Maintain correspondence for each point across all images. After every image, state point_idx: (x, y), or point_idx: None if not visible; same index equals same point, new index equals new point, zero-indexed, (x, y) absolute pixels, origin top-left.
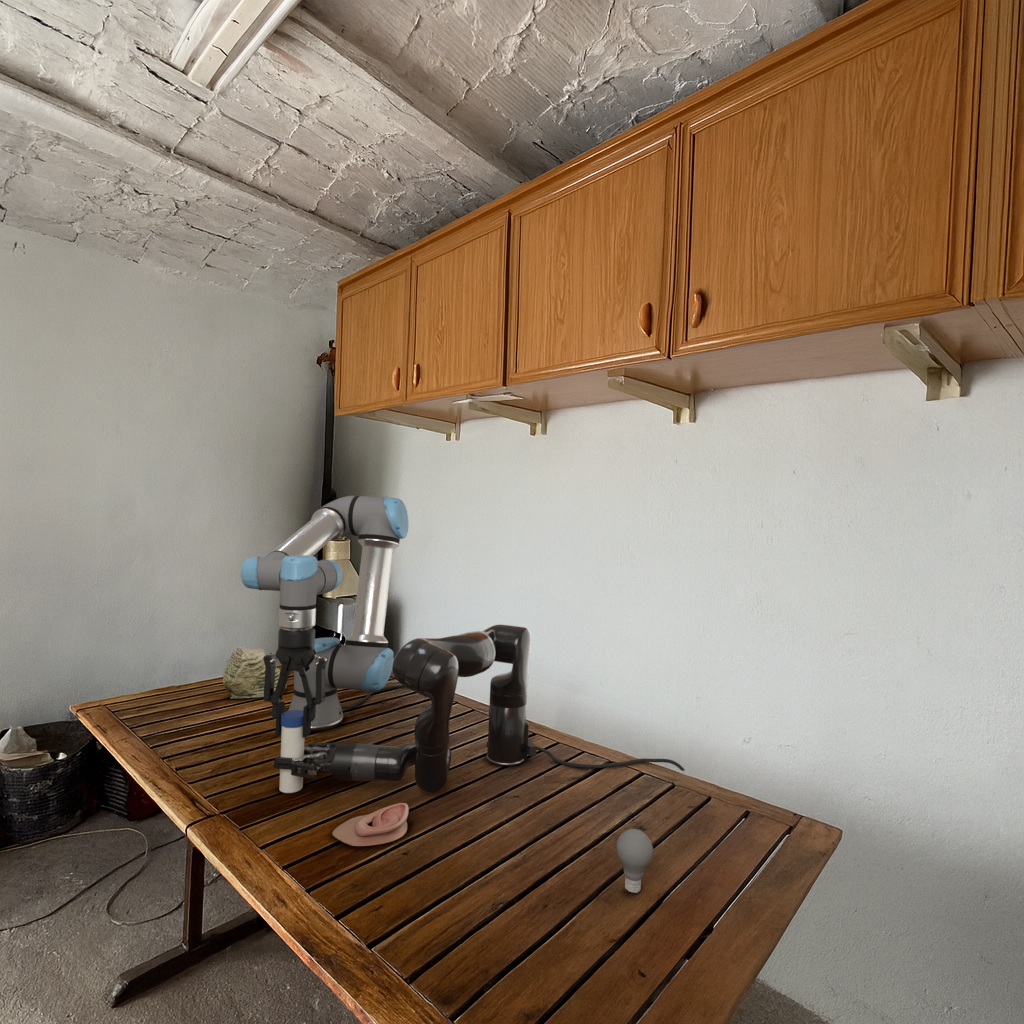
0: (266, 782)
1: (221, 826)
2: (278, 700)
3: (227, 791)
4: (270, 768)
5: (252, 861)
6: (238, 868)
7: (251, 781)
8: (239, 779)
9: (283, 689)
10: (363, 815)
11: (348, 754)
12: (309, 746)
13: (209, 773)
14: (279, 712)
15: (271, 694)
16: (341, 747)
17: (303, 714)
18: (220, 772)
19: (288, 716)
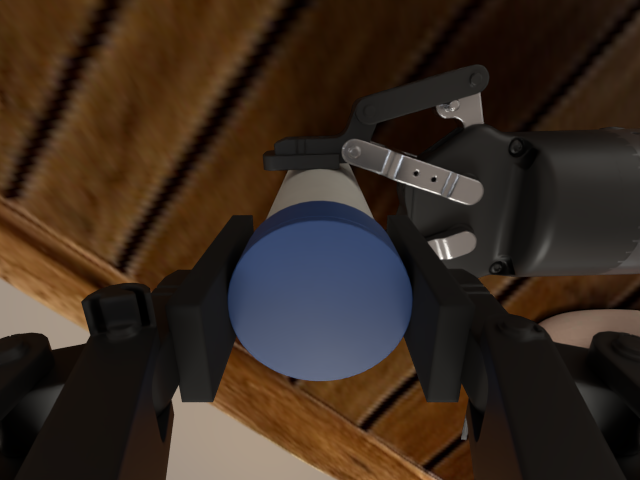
0: (228, 157)
1: (245, 377)
2: (163, 397)
3: (151, 229)
4: (181, 41)
5: (365, 460)
6: (351, 476)
7: (178, 157)
8: (133, 149)
9: (140, 472)
10: (563, 328)
11: (587, 271)
12: (365, 125)
13: (8, 120)
14: (225, 360)
15: (28, 408)
16: (564, 255)
17: (413, 358)
18: (37, 106)
19: (304, 357)
